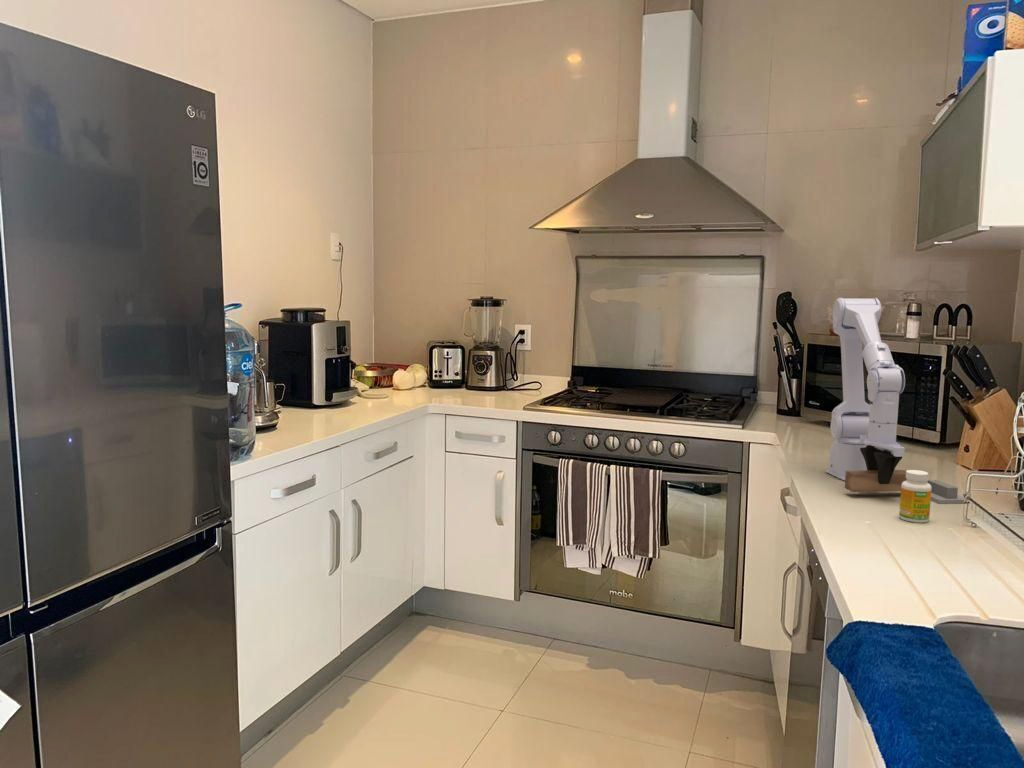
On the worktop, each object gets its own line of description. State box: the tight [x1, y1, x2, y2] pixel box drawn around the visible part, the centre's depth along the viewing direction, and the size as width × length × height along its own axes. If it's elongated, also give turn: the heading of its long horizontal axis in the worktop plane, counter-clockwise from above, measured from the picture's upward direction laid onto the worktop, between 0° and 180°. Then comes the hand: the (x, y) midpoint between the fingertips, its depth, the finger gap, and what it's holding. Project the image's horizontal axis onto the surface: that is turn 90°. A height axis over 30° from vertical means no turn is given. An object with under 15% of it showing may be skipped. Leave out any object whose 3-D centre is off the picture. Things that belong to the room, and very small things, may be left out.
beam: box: [844, 469, 907, 493], centre depth 174 cm, size 4×14×4 cm, turn 95°
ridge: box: [927, 479, 965, 505], centre depth 172 cm, size 9×7×3 cm
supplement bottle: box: [898, 469, 932, 524], centre depth 155 cm, size 5×5×10 cm
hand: (878, 481), depth 174 cm, fingers closed on beam, 3 cm apart
